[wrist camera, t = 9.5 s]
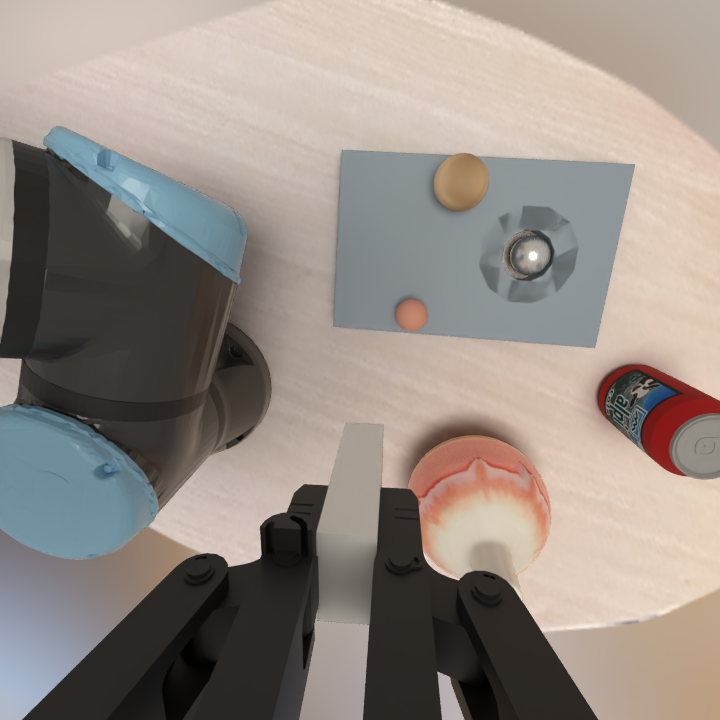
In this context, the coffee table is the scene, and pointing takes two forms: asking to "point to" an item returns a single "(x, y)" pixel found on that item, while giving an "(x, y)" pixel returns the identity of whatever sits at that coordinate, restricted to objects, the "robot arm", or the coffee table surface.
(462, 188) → the wooden ball
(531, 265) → the steel ball
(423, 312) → the rubber ball
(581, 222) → the plate
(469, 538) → the vase
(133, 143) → the coffee table surface
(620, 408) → the beverage can
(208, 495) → the coffee table surface
